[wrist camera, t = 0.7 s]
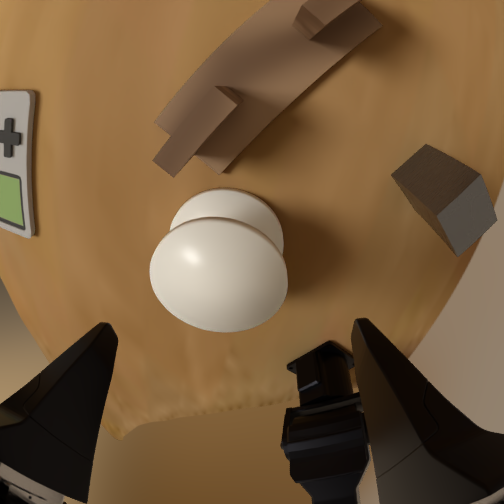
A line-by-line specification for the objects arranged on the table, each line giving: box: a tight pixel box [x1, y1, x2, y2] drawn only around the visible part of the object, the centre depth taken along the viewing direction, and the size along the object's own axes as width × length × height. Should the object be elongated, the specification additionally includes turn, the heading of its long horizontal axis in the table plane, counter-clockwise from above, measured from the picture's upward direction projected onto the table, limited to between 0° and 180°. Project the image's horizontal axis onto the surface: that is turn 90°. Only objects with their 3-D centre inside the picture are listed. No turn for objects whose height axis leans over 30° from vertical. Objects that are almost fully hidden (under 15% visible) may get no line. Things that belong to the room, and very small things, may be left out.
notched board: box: [152, 0, 383, 178], centre depth 13 cm, size 6×16×6 cm, turn 137°
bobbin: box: [150, 188, 288, 332], centre depth 20 cm, size 9×9×6 cm
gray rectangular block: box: [391, 144, 497, 257], centre depth 16 cm, size 4×4×7 cm
